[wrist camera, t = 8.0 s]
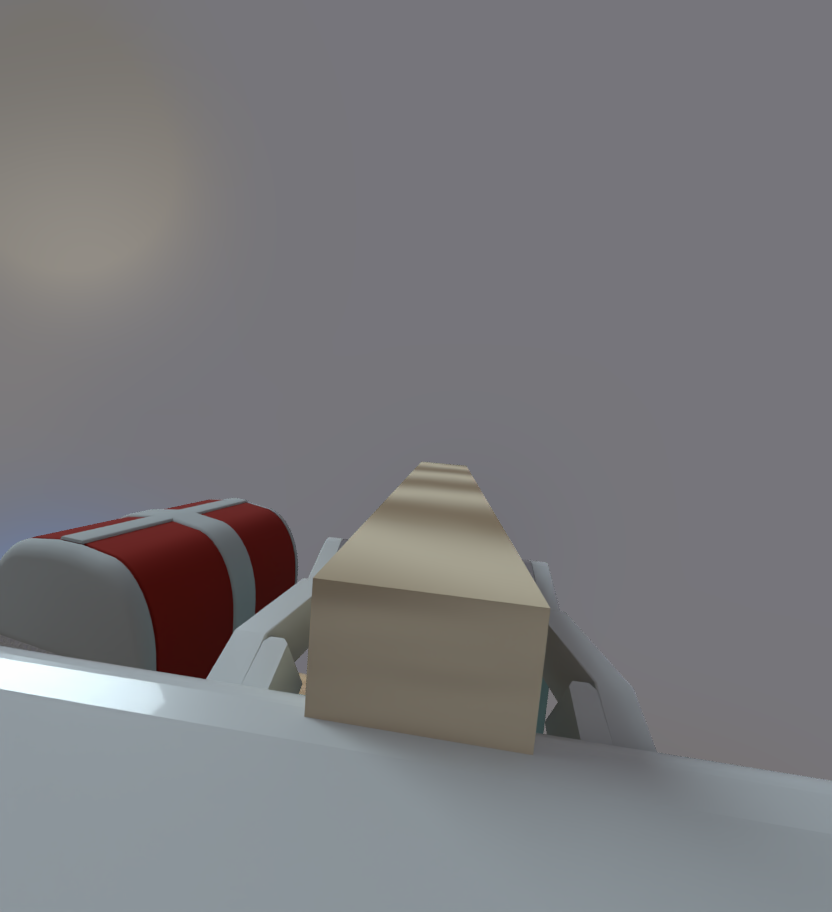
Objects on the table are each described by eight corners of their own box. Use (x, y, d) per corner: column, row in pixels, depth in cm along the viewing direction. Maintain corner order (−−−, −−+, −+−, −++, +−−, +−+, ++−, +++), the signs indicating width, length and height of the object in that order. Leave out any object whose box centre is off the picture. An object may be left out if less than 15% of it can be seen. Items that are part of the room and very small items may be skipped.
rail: (417, 505, 30) (421, 461, 30) (462, 510, 29) (466, 466, 29) (299, 789, 6) (312, 577, 6) (523, 832, 6) (550, 608, 5)
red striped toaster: (293, 725, 40) (306, 506, 38) (138, 942, 23) (147, 563, 21) (184, 688, 44) (190, 488, 42) (-19, 850, 27) (-25, 523, 24)
